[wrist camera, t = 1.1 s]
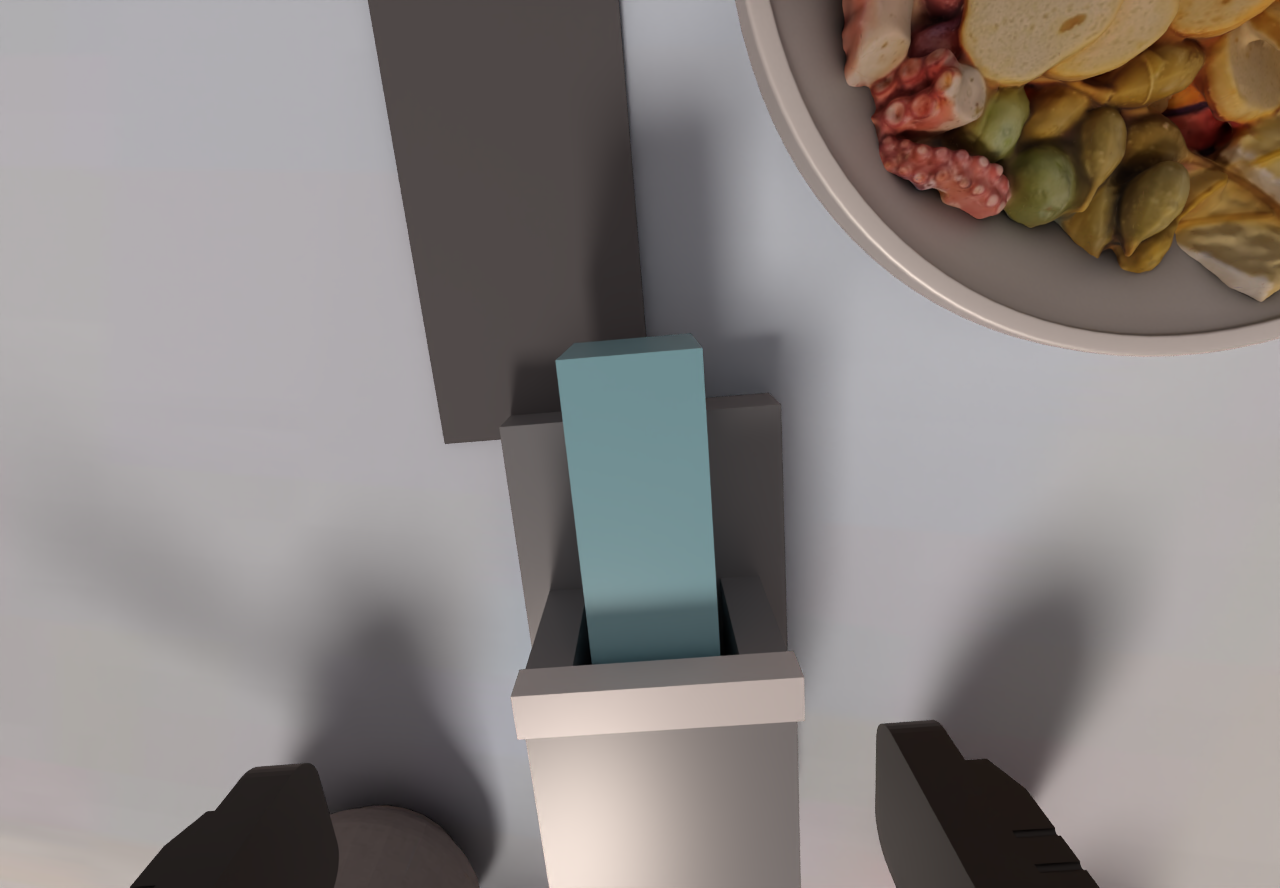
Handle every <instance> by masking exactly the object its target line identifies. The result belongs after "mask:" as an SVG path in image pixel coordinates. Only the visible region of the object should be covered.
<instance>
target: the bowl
mask: <svg viewBox="0 0 1280 888" xmlns="http://www.w3.org/2000/svg"><path fill="white" fill-rule="evenodd" d="M735 3H736V7H737V12H738V16H739V21H740V26H741V30H742V34H743V38H744V41H745V45H746V48H747V52H748V56H749V59H750V63H751V66H752V69H753V72H754V75H755V77H756V80H757V83H758V86H759V89H760V92H761V95H762V97H763V100H764V102H765V104H766V107H767V109H768V111H769V114H770V116H771V119H772V121H773V123H774V125H775V127H776V129H777V131H778V133H779V135H780V137H781V139H782V141H783V143H784V145H785V147H786V149H787V151H788V153H789V155H790V156H791V158H792V160H793V161H794V163H795V165H796V167H797V168H798V170H799V172H800V173H801V175H802V176H803V178H804V179H805V181H806V182H807V184H808V185H809V187H810V188H811V190H812V191H813V193H814V194H815V196H816V197H817V198H818V200H819V201H820V202H821V203H822V205H823V206H824V207H825V209H826V210H827V211H828V212H829V214H830V215H831V216H832V217H833V219H834V220H835V221H836V222H837V223H838V224H839V225H840V226H841V228H842V229H843V230H844V231H845V232H846V233H847V234H848V235H849V236H850V237H851V239H852V240H853V241H854V242H856V243H857V244H858V245H859V246H860V247H861V248H862V249H863V250H864V251H865V252H866V253H867V254H868V255H869V256H870V257H871V258H872V259H873V260H875V261H876V262H877V263H878V264H879V265H881V266H882V267H883V268H884V269H886V270H887V271H888V272H889V273H890V274H892V275H893V276H894V277H896V278H897V279H898V280H900V281H901V282H903V283H904V284H905V285H907V286H908V287H910V288H911V289H913V290H914V291H916V292H917V293H919V294H921V295H922V296H924V297H925V298H927V299H929V300H930V301H932V302H934V303H935V304H937V305H939V306H941V307H943V308H945V309H947V310H949V311H951V312H953V313H955V314H957V315H959V316H961V317H963V318H965V319H968V320H970V321H972V322H975V323H977V324H979V325H982V326H984V327H987V328H989V329H992V330H995V331H998V332H1001V333H1004V334H1007V335H1010V336H1013V337H1017V338H1021V339H1025V340H1028V341H1032V342H1036V343H1040V344H1044V345H1049V346H1054V347H1060V348H1065V349H1071V350H1076V351H1082V352H1089V353H1098V354H1107V355H1117V356H1139V357H1151V356H1179V355H1191V354H1203V353H1210V352H1216V351H1223V350H1230V349H1235V348H1240V347H1245V346H1250V345H1255V344H1259V343H1264V342H1267V341H1271V340H1275V339H1279V338H1280V0H735Z"/></svg>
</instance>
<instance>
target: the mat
mask: <svg viewBox="0 0 1280 888" xmlns="http://www.w3.org/2000/svg"><path fill="white" fill-rule="evenodd" d="M368 4H369V9H370V15H371V21H372V27H373V32H374V38H375V44H376V50H377V55H378V61H379V67H380V73H381V79H382V84H383V90H384V96H385V102H386V107H387V113H388V119H389V125H390V130H391V136H392V142H393V148H394V153H395V159H396V165H397V171H398V177H399V182H400V188H401V194H402V200H403V205H404V211H405V217H406V223H407V228H408V234H409V240H410V246H411V252H412V257H413V263H414V269H415V275H416V280H417V286H418V292H419V298H420V303H421V309H422V315H423V321H424V326H425V332H426V338H427V344H428V350H429V355H430V361H431V367H432V373H433V378H434V384H435V390H436V396H437V401H438V407H439V413H440V419H441V425H442V430H443V436H444V442H445V444H450V443H462V442H475V441H487V440H499V439H501V436H500V429H499V427H500V426H501V425H502V424H503V423H504V422H505V421H506V420H507V419H508V418H509V417H510V416H512V415H524V414H537V413H549V412H561V402H560V394H559V386H558V378H557V369H556V361H555V360H556V359H557V358H559V357H560V356H561V355H562V354H563V353H564V352H565V351H566V350H567V349H568V348H570V347H571V346H572V345H573V344H574V343H582V342H594V341H606V340H618V339H629V338H641V337H646V330H645V318H644V306H643V294H642V281H641V269H640V257H639V245H638V232H637V220H636V208H635V196H634V183H633V171H632V159H631V147H630V134H629V122H628V110H627V98H626V85H625V73H624V61H623V49H622V36H621V24H620V12H619V0H368Z"/></svg>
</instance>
